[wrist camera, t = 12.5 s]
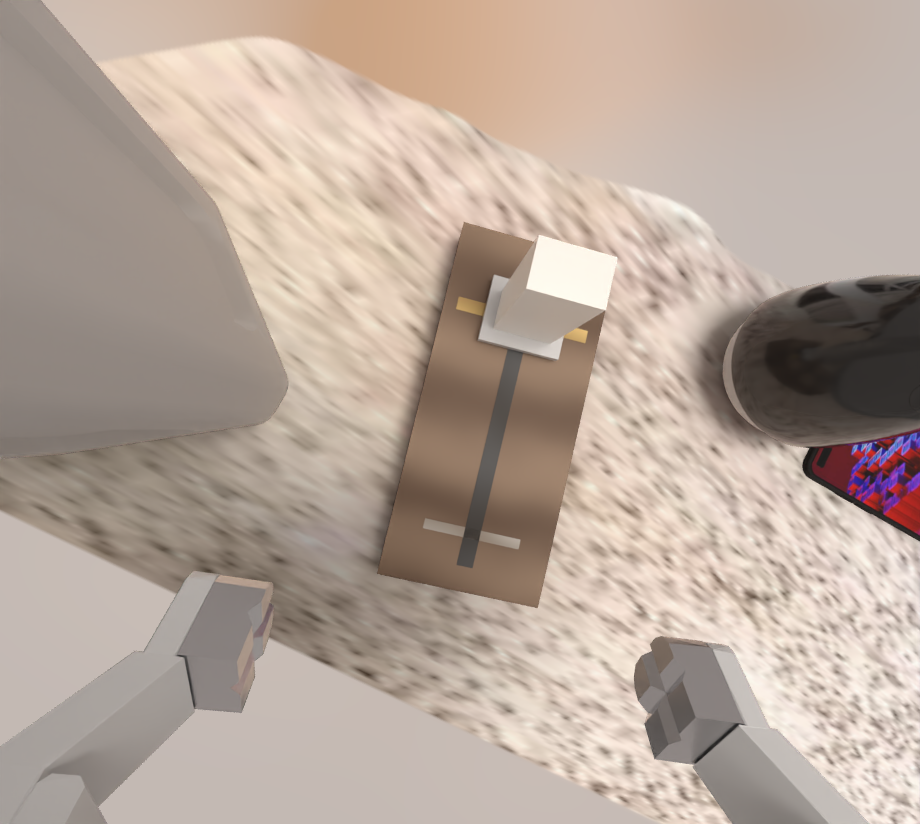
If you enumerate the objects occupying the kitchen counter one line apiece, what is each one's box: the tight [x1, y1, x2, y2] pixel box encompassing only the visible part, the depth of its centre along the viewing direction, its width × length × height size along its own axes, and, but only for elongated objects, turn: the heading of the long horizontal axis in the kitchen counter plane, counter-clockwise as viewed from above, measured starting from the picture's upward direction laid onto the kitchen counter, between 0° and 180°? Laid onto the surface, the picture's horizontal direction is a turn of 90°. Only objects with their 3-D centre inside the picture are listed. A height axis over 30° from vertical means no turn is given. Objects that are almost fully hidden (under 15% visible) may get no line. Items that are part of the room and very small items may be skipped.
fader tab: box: [477, 235, 618, 361], centre depth 25 cm, size 4×5×9 cm
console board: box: [377, 222, 605, 608], centre depth 31 cm, size 22×10×3 cm, turn 166°
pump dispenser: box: [723, 275, 920, 448], centre depth 27 cm, size 10×10×15 cm
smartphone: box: [803, 432, 920, 541], centre depth 36 cm, size 8×1×15 cm
